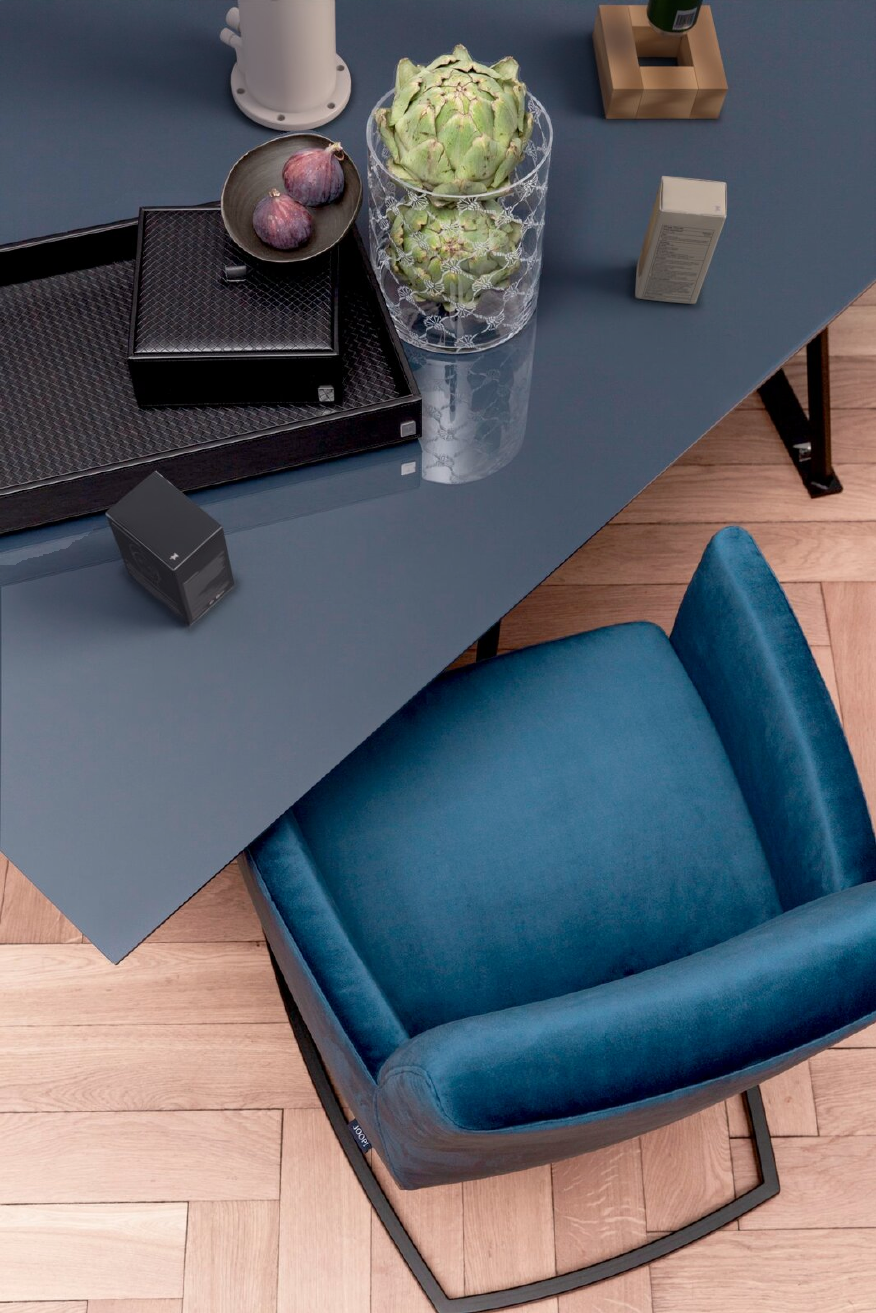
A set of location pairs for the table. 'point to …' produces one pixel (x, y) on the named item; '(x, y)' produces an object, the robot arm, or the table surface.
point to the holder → (657, 89)
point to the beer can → (673, 16)
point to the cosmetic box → (680, 239)
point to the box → (172, 547)
